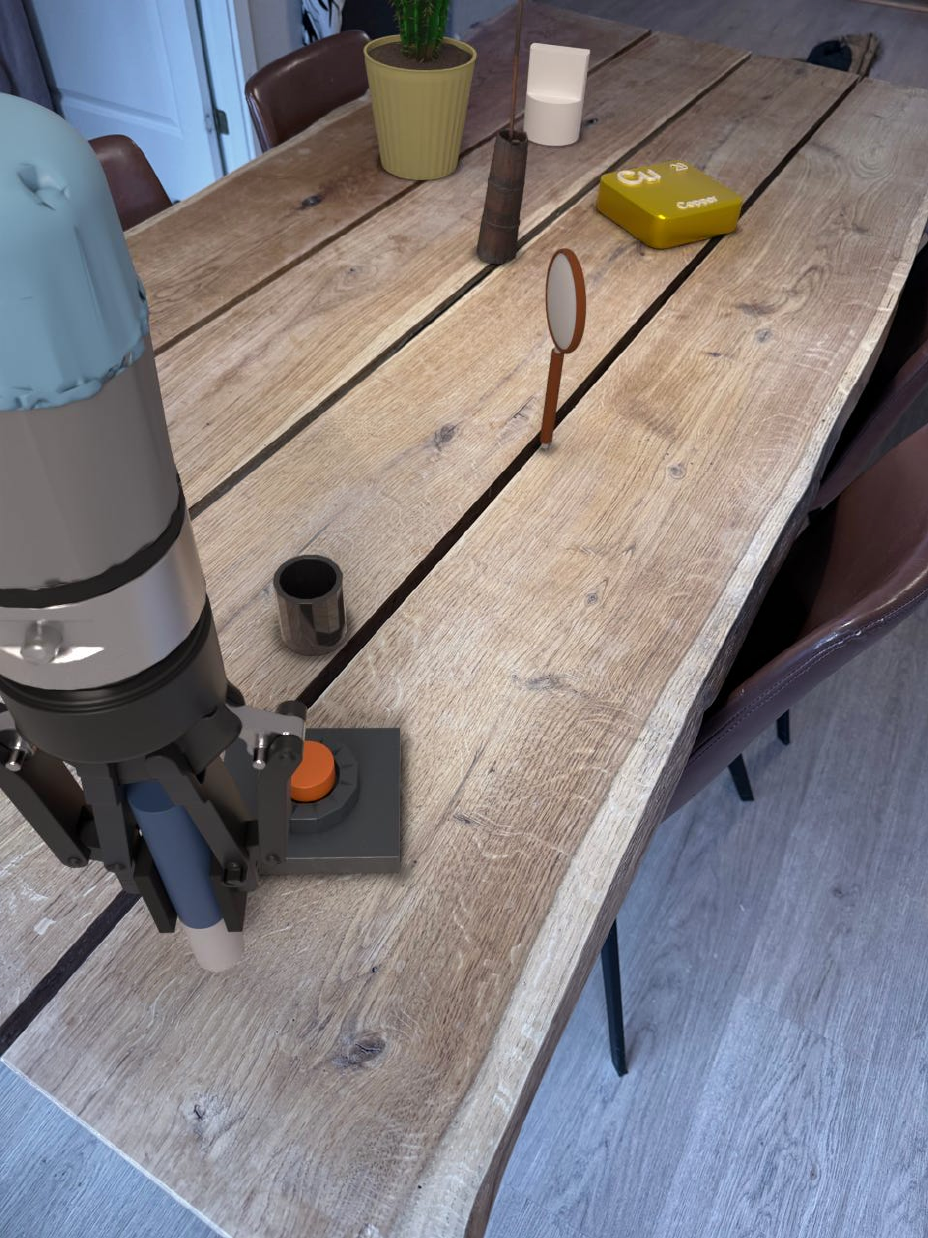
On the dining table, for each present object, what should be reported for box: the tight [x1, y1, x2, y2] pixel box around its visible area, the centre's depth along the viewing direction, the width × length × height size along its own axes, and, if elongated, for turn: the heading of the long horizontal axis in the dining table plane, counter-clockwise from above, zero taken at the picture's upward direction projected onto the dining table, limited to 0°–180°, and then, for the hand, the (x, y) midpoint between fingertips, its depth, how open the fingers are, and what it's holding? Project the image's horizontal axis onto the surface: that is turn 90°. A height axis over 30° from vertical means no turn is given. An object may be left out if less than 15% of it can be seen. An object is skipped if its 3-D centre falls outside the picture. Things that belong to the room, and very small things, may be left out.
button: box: [291, 741, 336, 802], centre depth 59 cm, size 4×4×2 cm
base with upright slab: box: [522, 42, 591, 147], centre depth 140 cm, size 9×9×12 cm
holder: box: [272, 554, 348, 656], centre depth 70 cm, size 5×5×6 cm
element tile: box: [596, 159, 744, 250], centre depth 124 cm, size 15×15×5 cm
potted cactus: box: [363, 0, 477, 181], centre depth 123 cm, size 15×15×30 cm
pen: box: [126, 781, 246, 973], centre depth 46 cm, size 3×3×18 cm
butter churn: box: [476, 0, 530, 265], centre depth 105 cm, size 9×10×28 cm
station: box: [223, 727, 402, 876], centre depth 61 cm, size 12×10×4 cm
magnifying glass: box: [539, 247, 587, 450], centre depth 82 cm, size 9×2×20 cm, turn 13°
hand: (204, 907), depth 48 cm, fingers closed on pen, 3 cm apart
